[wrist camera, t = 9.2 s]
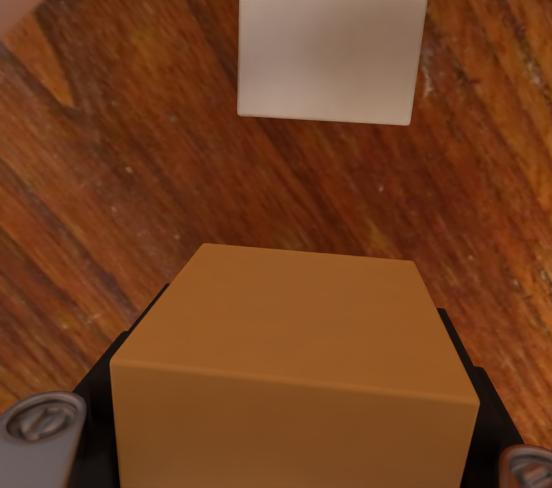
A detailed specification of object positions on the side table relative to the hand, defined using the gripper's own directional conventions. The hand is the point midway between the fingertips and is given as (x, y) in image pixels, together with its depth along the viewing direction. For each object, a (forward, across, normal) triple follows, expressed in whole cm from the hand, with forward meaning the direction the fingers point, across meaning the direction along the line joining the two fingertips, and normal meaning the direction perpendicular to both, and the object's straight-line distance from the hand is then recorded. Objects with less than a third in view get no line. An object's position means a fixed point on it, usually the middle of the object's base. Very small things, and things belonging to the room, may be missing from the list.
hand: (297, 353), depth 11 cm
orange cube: (+1, 0, 0) cm, 1 cm away
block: (+9, 0, -8) cm, 12 cm away
